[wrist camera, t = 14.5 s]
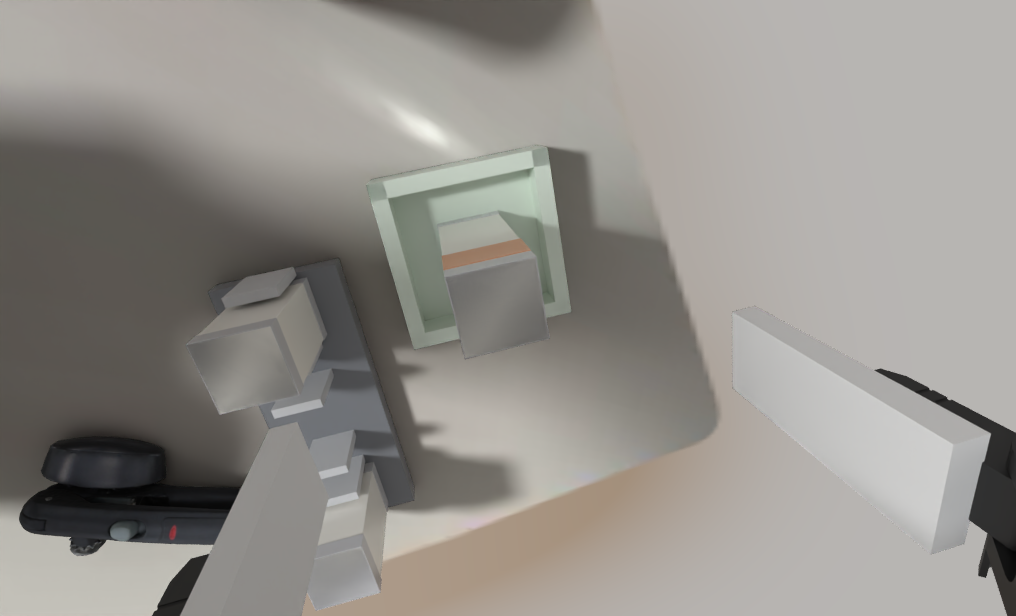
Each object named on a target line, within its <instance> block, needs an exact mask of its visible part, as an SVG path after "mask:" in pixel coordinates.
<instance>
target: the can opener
mask: <svg viewBox="0 0 1016 616" xmlns="http://www.w3.org/2000/svg"><path fill="white" fill-rule="evenodd" d="M41 473H42V475H43V476H44V477H46V478H47V479H49V480H50V481H54V482H58V484H55V485H52V486H50V487H48V488H47V489H45V490H42V491H40V492H38V493H37V494H35V495H34V496H33V497H32V498H30V499H29V500H28V501H27V502H26V503H25V505H24V506H23V509H22V511H21V513H20V516H19V521H20V523H21V525H22V527H23V528H24V529H25V530H26V531H28V532H30V533H34V534H41V535H52V536H63V537H71V538H70V539H69V540H71V545H70V547H71V549H70V550H71V552H72V553H73V554H75V555H77V556H84V555H89V554H92V553H94V552H96V551H98V549H99V548H100V547H101V546H102V545H103V544H104V543H105V542H106V540H114V541H127V542H142V543H163V544H200V545H214V544H215V542H216V539H217V537H218V535H219V533H220V531H221V529H222V527H223V525H224V523H225V521H226V518H227V516H228V514H229V512H230V510H231V508H232V506H233V504H234V502H235V500H236V498H237V495H238V493H239V491H240V489H241V488H217V487H180V486H170V485H163V484H158V483H156V482H158V481H160V480H162V479H164V478H165V477H166V464H165V453H164V450H163V449H162V448H160V447H159V446H156V445H154V444H150V443H146V442H143V441H138V440H132V439H124V438H114V437H85V438H73V439H67V440H61V441H58V442H56V443H54V444H53V445H51V447H50V450H49V452H48V454H47V456H46V459H45V462H44V464H43V467H42V470H41Z"/></svg>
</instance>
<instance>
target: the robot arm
mask: <svg viewBox="0 0 1016 616" xmlns="http://www.w3.org/2000/svg"><path fill="white" fill-rule="evenodd" d="M732 364H733V365H732V372H733V373H732V377H733V380H732V382H733V389H734V390H735V391H737V392H738V393H739V394H740V395H741V396H743V397H744V398H745V399H746V400H747V401H748V402H750V403H751V404H752V405H753V406H755V407H756V408H757V409H758V410H759V411H760V412H762V413H763V414H764V415H765V416H766V417H768V418H769V419H770V420H771V421H772V422H773V423H775V424H776V425H777V426H778V427H779V428H781V429H782V430H783V431H784V432H785V433H787V434H788V435H789V436H790V437H791V438H793V439H794V440H795V441H796V442H797V443H798V444H800V445H801V446H802V447H803V448H804V449H806V450H807V451H808V452H809V453H810V454H812V455H813V456H814V457H815V458H817V460H819V461H820V462H821V463H822V464H823V465H825V466H826V467H827V468H828V469H829V470H831V471H832V472H833V473H834V474H835V475H837V476H838V477H839V478H840V479H841V480H842V481H844V482H845V483H846V484H847V485H848V486H850V487H851V488H852V489H853V490H854V491H856V492H857V493H858V494H859V495H860V496H862V497H863V498H864V499H865V500H866V501H867V502H869V503H870V504H871V505H872V506H873V507H875V508H876V509H877V510H878V511H880V512H881V513H882V514H883V515H884V516H885V517H887V518H888V519H889V520H890V521H891V522H893V523H894V524H895V525H896V526H897V527H898V528H900V529H901V530H902V531H903V532H904V533H906V534H907V535H908V536H909V537H910V538H912V539H913V540H914V541H915V542H916V543H918V544H919V545H920V546H921V547H922V548H923V549H925V550H926V551H927V552H928V553H930V554H934V553H937V552H940V551H943V550H947V549H950V548H953V547H956V546H959V545H962V544H964V543H965V538H966V535H967V530H968V526H969V522H970V521H971V522H973V523H974V524H975V525H977V526H978V527H980V528H981V529H982V530H984V531H985V532H987V533H988V534H987V538H986V541H985V545H984V549H983V553H982V556H981V560H980V564H979V573H978V575H979V576H981V577H985V578H986V576H987V572H988V569H989V567H992V570H993V573H994V576H995V579H996V582H997V585H998V588H999V591H1000V595H1001V597H1002V601H1003V604H1004V607H1005V610H1006V613H1007V616H1016V433H1015V432H1013V431H1011V430H1009V429H1007V428H1005V427H1003V426H1001V425H1000V424H997V423H996V422H994V421H992V420H990V419H988V418H986V417H984V416H982V415H980V414H978V413H976V412H974V411H972V410H970V409H969V408H967V407H965V406H963V405H961V404H959V403H957V402H955V401H953V400H948V399H947V397H946V396H944V395H942V394H940V393H938V392H936V391H934V390H932V391H930V390H929V388H928V387H926V386H924V385H922V384H920V383H918V382H917V381H914V380H913V379H911V378H909V377H907V376H903V375H900V374H897V373H893V372H890V371H886V370H883V369H877V370H873V369H870V368H869V367H867V366H865V365H863V364H862V363H859V362H858V361H856V360H854V359H852V358H851V357H849V356H847V355H845V354H843V353H841V352H839V351H838V350H836V349H834V348H832V347H830V346H828V345H826V344H825V343H823V342H821V341H819V340H817V339H815V338H813V337H812V336H810V335H808V334H806V333H804V332H802V331H801V330H799V329H797V328H795V327H793V326H791V325H790V324H788V323H786V322H784V321H782V320H780V319H778V318H777V317H775V316H773V315H771V314H769V313H767V312H766V311H764V310H762V309H760V308H758V307H756V306H753V307H749V308H745V309H741V310H737V311H733V312H732ZM328 498H329V496H328V494H327V491H326V489H325V487H324V484H323V482H322V480H321V477H320V475H319V472H318V470H317V468H316V465H315V463H314V461H313V458H312V456H311V454H310V451H309V449H308V446H307V444H306V442H305V439H304V437H303V435H302V432H301V430H300V428H299V425H298V423H297V422H295V423H291V424H287V425H283V426H279V427H275V428H271V429H269V430H268V433H267V435H266V437H265V439H264V441H263V443H262V445H261V447H260V449H259V451H258V454H257V456H256V458H255V460H254V462H253V464H252V466H251V468H250V470H249V472H248V474H247V477H246V479H245V481H244V483H243V485H242V487H241V489H240V491H239V493H238V495H237V498H236V500H235V502H234V504H233V506H232V508H231V510H230V512H229V514H228V516H227V518H226V521H225V523H224V525H223V527H222V529H221V531H220V533H219V535H218V537H217V539H216V542H215V544H214V546H213V548H212V550H211V552H210V554H207V555H203V556H199V557H196V558H192V559H190V560H189V561H188V563H187V564H186V565H185V566H184V567H183V568H182V569H181V570H180V572H179V573H178V574H177V575H176V576H175V577H174V578H173V579H172V581H171V582H170V583H169V585H168V587H167V589H166V591H165V593H164V594H163V596H162V598H161V600H160V602H159V604H158V606H157V607H158V609H157V611H154V613H153V615H152V616H301V615H302V610H303V606H304V602H305V598H306V593H307V589H308V585H309V581H310V576H311V572H312V568H313V563H314V559H315V555H316V550H317V546H318V542H319V537H320V533H321V529H322V524H323V520H324V516H325V511H326V507H327V503H328Z"/></svg>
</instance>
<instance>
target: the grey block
mask: <svg viewBox="0 0 1016 616" xmlns="http://www.w3.org/2000/svg"><path fill="white" fill-rule="evenodd" d="M387 512H388V500H387V497H386V494H385V492H384V489H383V486H382V483H381V481H380V478H379V475H378V472H377V470H376V467H375V464H374V462H370V463H366V464H365V466H364V472H363V478H362V484H361V490H360V496H359V499H355V500H352V501H348V502H344V503H340V504H336V505H333V506H329V507H326V511H325V516H324V520H323V524H322V529H321V533H320V537H319V542H318V546H317V550H316V555H315V559H314V563H313V568H312V572H311V576H310V581H309V585H308V589H307V593H308V595H309V597H310V599H311V601H312V604H313V606H314V608H315V610H316V611H317V610H320V609H324V608H327V607H331V606H335V605H338V604H342V603H345V602H348V601H352V600H356V599H360V598H363V597H367V596H370V595H374V594H377V593H380V591H381V570H382V559H383V548H384V537H385V526H386V515H387Z"/></svg>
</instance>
